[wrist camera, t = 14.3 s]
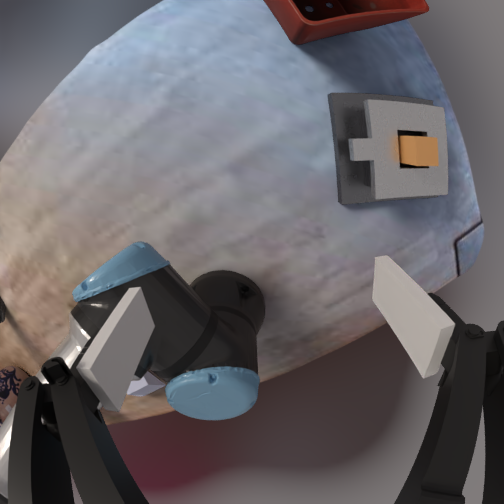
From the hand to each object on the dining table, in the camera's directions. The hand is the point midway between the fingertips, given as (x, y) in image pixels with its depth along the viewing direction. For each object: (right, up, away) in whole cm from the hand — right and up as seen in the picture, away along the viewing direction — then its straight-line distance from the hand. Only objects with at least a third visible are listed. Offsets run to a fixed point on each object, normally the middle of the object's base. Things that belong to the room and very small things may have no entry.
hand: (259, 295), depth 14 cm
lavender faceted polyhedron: (-28, -27, +44) cm, 59 cm away
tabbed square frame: (+23, +20, +25) cm, 39 cm away
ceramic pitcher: (-84, -45, +51) cm, 108 cm away
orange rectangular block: (+23, +19, +23) cm, 38 cm away
